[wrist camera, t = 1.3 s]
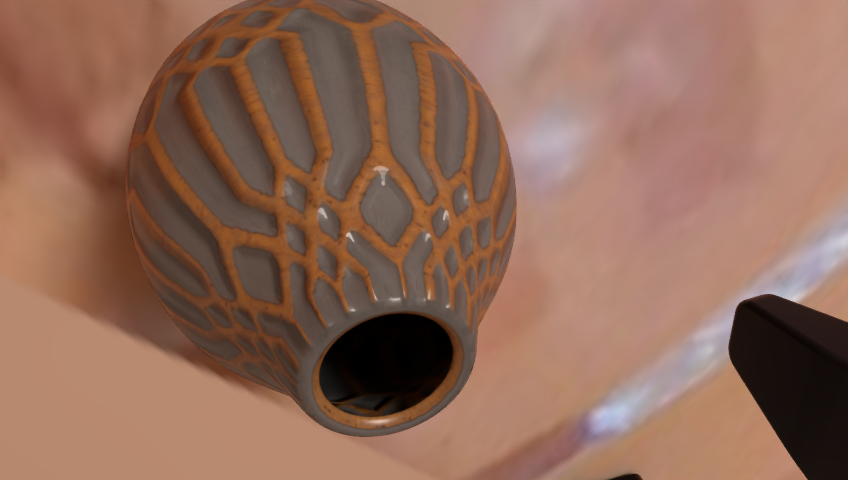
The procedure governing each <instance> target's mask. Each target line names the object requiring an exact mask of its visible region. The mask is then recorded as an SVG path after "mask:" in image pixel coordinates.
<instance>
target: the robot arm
mask: <svg viewBox="0 0 848 480" xmlns="http://www.w3.org/2000/svg"><path fill="white" fill-rule="evenodd" d="M728 349H729V356H730V359H731V361H732V364H733V366H734V367H735V369H736V371H737V372H738V374H739V375H740V377H741V379H742V380H743V382H744V383H745V385H746V386H747V388H748V390H749V391H750V393H751V394H752V396H753V398H754V399H755V401H756V402H757V404H758V405H759V407H760V409H761V410H762V412H763V413H764V415H765V417H766V418H767V420H768V421H769V423H770V424H771V426H772V428H773V429H774V431H775V432H776V434H777V436H778V437H779V439H780V440H781V442H782V443H783V445H784V447H785V448H786V450H787V451H788V453H789V454H790V456H791V457H792V459H793V460H794V461H795V463H796V464H797V466H798V467H799V468H800V470H801V471H802V472H803V474H804V475H805V477H806V478H807V479H808V480H848V322H846V321H843V320H841V319H838V318H835V317H833V316H830V315H827V314H825V313H822V312H819V311H817V310H814V309H811V308H809V307H806V306H803V305H801V304H798V303H795V302H793V301H790V300H787V299H785V298H782V297H779V296H776V295H773V294H764V295H760V296H757V297H753V298H750V299H747V300H744V301H742V302H740V303H739V305H738V306H737V308H736V311H735V316H734V321H733V326H732V331H731V335H730V340H729V346H728ZM615 480H643V479H642V478H641V476H640V475H638V474H630V475H627V476H624V477H621V478H618V479H615Z"/></svg>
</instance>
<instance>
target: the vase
mask: <svg viewBox="0 0 848 480" xmlns="http://www.w3.org/2000/svg"><path fill="white" fill-rule="evenodd" d="M125 193H126V206H127V213H128V219H129V225H130V230H131V234H132V238H133V242H134V245H135V248H136V251H137V254H138V256H139V259H140V262H141V265H142V267H143V270H144V272H145V274H146V276H147V278H148V280H149V282H150V284H151V286H152V288H153V290H154V292H155V294H156V295H157V297H158V299H159V301H160V302H161V304H162V305H163V307H164V308H165V310H166V311H167V313H168V314H169V315H170V317H171V318H172V320H173V321H174V322H175V323H176V325H177V326H178V327H179V328H180V329H181V330H182V332H183V333H184V334H185V335H186V336H187V337H188V338H189V339H190V340H191V341H192V342H193V343H194V344H195V345H196V346H197V347H198V348H199V349H201V350H202V351H203V352H204V353H205V354H207V355H208V356H209V357H211V358H212V359H214V360H215V361H217V362H218V363H219V364H221V365H222V366H224V367H225V368H227V369H229V370H230V371H232V372H234V373H236V374H238V375H240V376H242V377H244V378H246V379H248V380H250V381H252V382H255V383H257V384H260V385H262V386H265V387H267V388H270V389H272V390H275V391H278V392H280V393H283V394H286V395H289V396H290V397H291V398H292V399H293V400H294V401H295V402H296V403H297V404H298V405H299V406H300V407H301V409H302V410H303V411H304V412H305V413H306V414H307V415H308V416H309V417H311V418H312V419H313V420H314V421H316V422H317V423H318V424H320V425H322V426H323V427H325V428H327V429H329V430H332V431H334V432H337V433H341V434H345V435H350V436H359V437H373V436H382V435H388V434H393V433H397V432H400V431H403V430H406V429H409V428H412V427H414V426H416V425H419V424H421V423H423V422H424V421H426V420H428V419H430V418H431V417H433V416H434V415H436V414H437V413H439V412H440V411H441V410H443V409H444V408H445V407H446V406H447V405H448V404H449V403H451V401H452V400H453V399H454V398H455V397H456V396H457V395H458V394H459V392H460V391H461V390H462V388H463V387H464V385H465V384H466V382H467V380H468V378H469V376H470V374H471V372H472V369H473V366H474V362H475V357H476V349H477V333H478V326H479V324H480V322H481V321H482V319H483V317H484V315H485V313H486V312H487V310H488V308H489V306H490V304H491V302H492V300H493V298H494V297H495V294H496V292H497V290H498V288H499V286H500V283H501V281H502V279H503V277H504V274H505V271H506V268H507V265H508V262H509V258H510V255H511V251H512V247H513V241H514V236H515V228H516V208H517V200H516V187H515V178H514V171H513V166H512V161H511V157H510V153H509V149H508V144H507V141H506V138H505V135H504V132H503V130H502V127H501V124H500V121H499V119H498V116H497V114H496V112H495V110H494V108H493V106H492V104H491V102H490V100H489V98H488V96H487V95H486V93H485V91H484V90H483V88H482V87H481V85H480V83H479V82H478V80H477V79H476V77H475V76H474V75H473V73H472V72H471V71H470V70H469V69H468V67H467V66H466V65H465V64H464V63H463V61H462V60H461V59H460V58H459V57H458V56H457V55H456V54H455V53H454V52H453V51H452V50H451V49H450V48H449V47H448V46H447V45H446V44H445V43H444V42H442V41H441V40H440V39H439V38H438V37H437V36H435V35H434V34H433V33H432V32H431V31H429V30H428V29H427V28H425V27H424V26H422V25H421V24H420V23H418V22H417V21H415V20H413V19H412V18H410V17H408V16H407V15H405V14H403V13H402V12H400V11H398V10H396V9H394V8H392V7H390V6H388V5H386V4H384V3H381V2H379V1H376V0H247V1H244V2H241V3H239V4H237V5H235V6H232V7H230V8H228V9H226V10H224V11H223V12H221V13H219V14H218V15H216V16H214V17H213V18H211V19H210V20H208V21H207V22H206V23H204V24H203V25H201V26H200V27H199V28H197V29H196V30H195V31H194V32H193V33H191V34H190V35H189V36H188V37H187V38H185V40H184V41H183V42H182V43H181V44H180V45H179V46H178V47H177V48H176V49H175V50H174V51H173V52H172V53H171V55H170V56H169V57H168V58H167V59H166V61H165V62H164V63H163V65H162V66H161V68H160V69H159V71H158V72H157V74H156V76H155V77H154V79H153V81H152V83H151V84H150V86H149V89H148V91H147V93H146V95H145V97H144V100H143V102H142V104H141V106H140V109H139V112H138V115H137V118H136V121H135V124H134V128H133V132H132V136H131V140H130V145H129V150H128V157H127V166H126V184H125Z"/></svg>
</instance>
